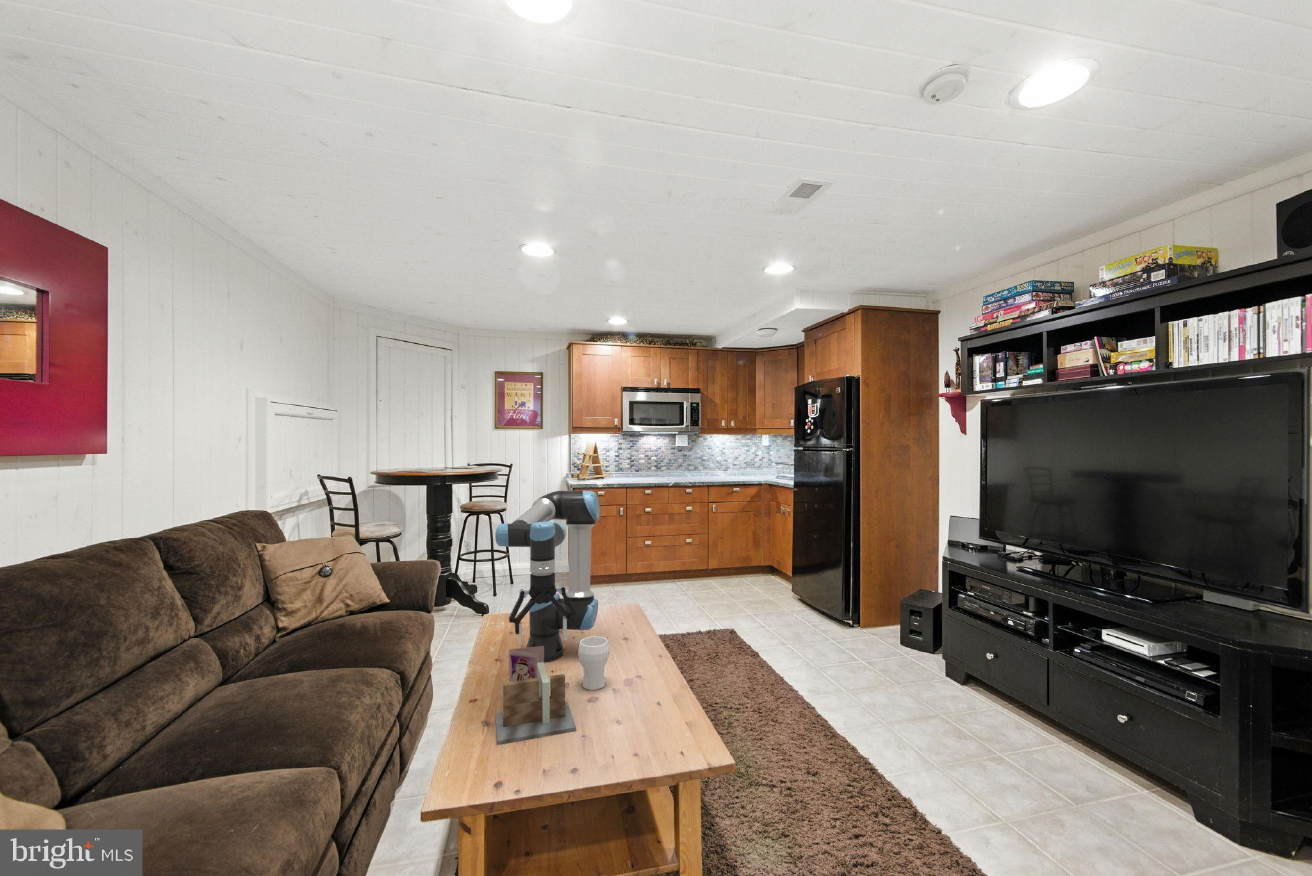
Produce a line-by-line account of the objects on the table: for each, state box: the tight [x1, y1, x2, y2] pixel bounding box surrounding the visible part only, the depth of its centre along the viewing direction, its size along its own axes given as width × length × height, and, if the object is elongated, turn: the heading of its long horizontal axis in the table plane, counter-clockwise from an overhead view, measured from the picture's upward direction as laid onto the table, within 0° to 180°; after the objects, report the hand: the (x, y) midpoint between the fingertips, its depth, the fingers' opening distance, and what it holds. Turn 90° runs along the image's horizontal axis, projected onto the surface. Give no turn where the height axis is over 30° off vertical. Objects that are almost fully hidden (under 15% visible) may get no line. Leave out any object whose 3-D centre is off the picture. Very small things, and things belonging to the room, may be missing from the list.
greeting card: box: [508, 646, 545, 682], centre depth 176 cm, size 11×7×15 cm, turn 70°
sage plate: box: [537, 662, 550, 724], centre depth 163 cm, size 15×2×12 cm, turn 19°
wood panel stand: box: [494, 673, 577, 745], centre depth 157 cm, size 22×16×13 cm
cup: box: [577, 635, 610, 691], centre depth 182 cm, size 11×11×15 cm
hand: (542, 641), depth 163 cm, fingers open, 13 cm apart
